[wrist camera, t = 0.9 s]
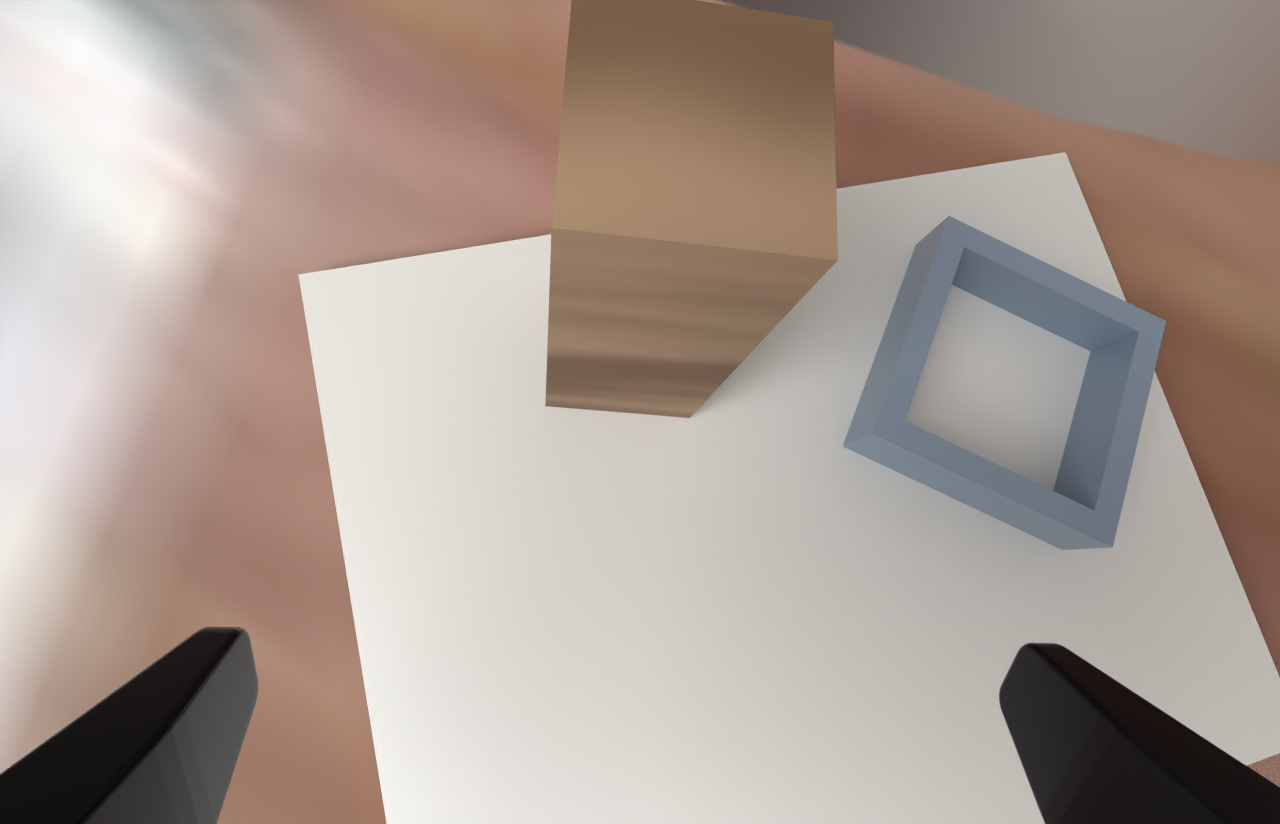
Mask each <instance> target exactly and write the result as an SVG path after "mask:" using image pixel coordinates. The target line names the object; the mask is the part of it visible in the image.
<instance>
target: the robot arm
mask: <svg viewBox="0 0 1280 824" xmlns="http://www.w3.org/2000/svg"><path fill="white" fill-rule="evenodd" d="M257 695H258V677H257V672H256V667H255V662H254V657H253V652H252V647H251V641H250V637H249V635H248V633H247V631H246V630H245V629H243V628H240V627H206V628H203V629H200V630H198V631H197V632H195V633H194V634H192V635H191V636H190V637H188V638H187V639H185V640H184V641H183V642H181V643H180V644H179V645H177V646H176V647H174V648H173V649H172V650H170V651H169V652H168V653H166V654H165V655H163V656H162V657H161V658H159V659H158V660H156V661H155V662H154V663H152V664H151V665H150V666H148V667H147V668H145V669H144V670H143V671H141V672H140V673H139V674H137V675H136V676H134V677H133V678H132V679H130V680H129V681H128V682H126V683H125V684H123V685H122V686H121V687H119V688H118V689H117V690H115V691H114V692H112V693H111V694H110V695H108V696H107V697H105V698H104V699H103V700H101V701H100V702H99V703H97V704H96V705H94V706H93V707H92V708H90V709H89V710H88V711H86V712H85V713H83V714H82V715H81V716H79V717H78V718H77V719H75V720H74V721H72V722H71V723H70V724H68V725H67V726H65V727H64V728H63V729H61V730H60V731H59V732H57V733H56V734H54V735H53V736H52V737H50V738H49V739H48V740H46V741H45V742H43V743H42V744H41V745H39V746H38V747H37V748H35V749H34V750H32V751H31V752H30V753H28V754H27V755H26V756H24V757H23V758H21V759H20V760H19V761H17V762H16V763H14V764H13V765H12V766H10V767H9V768H8V769H6V770H5V771H3V772H2V773H1V774H0V824H217V821H218V818H219V815H220V812H221V809H222V806H223V803H224V800H225V797H226V793H227V790H228V787H229V784H230V781H231V778H232V775H233V772H234V769H235V766H236V763H237V760H238V757H239V753H240V750H241V747H242V744H243V741H244V738H245V735H246V732H247V729H248V726H249V723H250V720H251V717H252V714H253V710H254V707H255V704H256V700H257ZM999 702H1000V708H1001V711H1002V714H1003V716H1004V719H1005V721H1006V724H1007V727H1008V729H1009V732H1010V735H1011V737H1012V740H1013V742H1014V745H1015V748H1016V750H1017V753H1018V755H1019V758H1020V761H1021V763H1022V766H1023V769H1024V771H1025V774H1026V776H1027V779H1028V782H1029V784H1030V787H1031V789H1032V792H1033V795H1034V797H1035V800H1036V803H1037V805H1038V808H1039V810H1040V813H1041V816H1042V818H1043V820H1044V823H1045V824H1280V787H1278V786H1277V785H1275V784H1274V783H1272V782H1271V781H1269V780H1267V779H1266V778H1264V777H1263V776H1261V775H1260V774H1258V773H1257V772H1255V771H1254V770H1252V769H1251V768H1249V767H1248V766H1246V765H1245V764H1243V763H1241V762H1240V761H1238V760H1237V759H1235V758H1234V757H1232V756H1231V755H1229V754H1228V753H1226V752H1225V751H1223V750H1222V749H1220V748H1219V747H1217V746H1215V745H1214V744H1212V743H1211V742H1209V741H1208V740H1206V739H1205V738H1203V737H1202V736H1200V735H1199V734H1197V733H1196V732H1194V731H1193V730H1191V729H1189V728H1188V727H1186V726H1185V725H1183V724H1182V723H1180V722H1179V721H1177V720H1176V719H1174V718H1173V717H1171V716H1170V715H1168V714H1167V713H1165V712H1164V711H1162V710H1160V709H1159V708H1157V707H1156V706H1154V705H1153V704H1151V703H1150V702H1148V701H1147V700H1145V699H1144V698H1142V697H1141V696H1139V695H1138V694H1136V693H1134V692H1133V691H1131V690H1130V689H1128V688H1127V687H1125V686H1124V685H1122V684H1121V683H1119V682H1118V681H1116V680H1115V679H1113V678H1112V677H1110V676H1108V675H1107V674H1105V673H1104V672H1102V671H1101V670H1099V669H1098V668H1096V667H1095V666H1093V665H1092V664H1090V663H1089V662H1087V661H1086V660H1084V659H1083V658H1081V657H1079V656H1078V655H1076V654H1075V653H1073V652H1072V651H1070V650H1069V649H1067V648H1066V647H1064V646H1062V645H1059V644H1055V643H1026V644H1025V645H1023V646H1022V647H1021V648H1020V649H1019V650H1018V652H1017V654H1016V656H1015V658H1014V660H1013V662H1012V664H1011V666H1010V668H1009V670H1008V672H1007V674H1006V676H1005V678H1004V680H1003V682H1002V684H1001V687H1000V691H999Z"/></svg>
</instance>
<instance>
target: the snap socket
mask: <svg viewBox="0 0 1280 824" xmlns="http://www.w3.org/2000/svg"><path fill="white" fill-rule="evenodd" d="M951 285H954V286H956V287H958V288H960V289H962V290H964V291H966V292H968V293H970V294H972V295H974V296H977V297H979V298H981V299H983V300H985V301H987V302H989V303H991V304H993V305H995V306H997V307H999V308H1001V309H1004V310H1006V311H1008V312H1010V313H1012V314H1014V315H1016V316H1018V317H1020V318H1022V319H1024V320H1026V321H1028V322H1031V323H1033V324H1035V325H1037V326H1039V327H1041V328H1043V329H1045V330H1047V331H1049V332H1051V333H1053V334H1055V335H1058V336H1060V337H1062V338H1064V339H1066V340H1068V341H1070V342H1072V343H1074V344H1076V345H1078V346H1080V347H1082V348H1085V349H1087V350H1089V351H1091V352H1090V355H1089V359H1088V363H1087V366H1086V370H1085V374H1084V378H1083V381H1082V385H1081V389H1080V393H1079V396H1078V400H1077V404H1076V408H1075V411H1074V415H1073V419H1072V423H1071V426H1070V430H1069V434H1068V438H1067V441H1066V445H1065V449H1064V453H1063V456H1062V460H1061V464H1060V468H1059V471H1058V475H1057V479H1056V483H1055V486H1054V490H1053V491H1052V490H1050V489H1048V488H1046V487H1044V486H1042V485H1040V484H1037V483H1035V482H1033V481H1031V480H1029V479H1027V478H1025V477H1023V476H1021V475H1018V474H1016V473H1014V472H1012V471H1010V470H1008V469H1006V468H1004V467H1002V466H999V465H997V464H995V463H993V462H991V461H989V460H987V459H985V458H983V457H980V456H978V455H976V454H974V453H972V452H970V451H968V450H966V449H964V448H961V447H959V446H957V445H955V444H953V443H951V442H949V441H947V440H945V439H942V438H940V437H938V436H936V435H934V434H932V433H930V432H928V431H926V430H923V429H921V428H919V427H917V426H915V425H913V424H911V423H909V422H907V421H905V420H906V417H907V414H908V411H909V408H910V405H911V403H912V400H913V397H914V394H915V391H916V388H917V385H918V382H919V379H920V376H921V373H922V370H923V367H924V364H925V361H926V358H927V355H928V353H929V350H930V347H931V344H932V341H933V338H934V335H935V332H936V329H937V326H938V323H939V320H940V317H941V314H942V311H943V308H944V305H945V303H946V300H947V297H948V294H949V291H950V288H951ZM1165 324H1166V321H1165V320H1163V319H1161V318H1159V317H1157V316H1155V315H1153V314H1151V313H1148V312H1146V311H1144V310H1142V309H1140V308H1138V307H1136V306H1134V305H1132V304H1130V303H1128V302H1126V301H1124V300H1122V299H1120V298H1118V297H1115V296H1113V295H1111V294H1109V293H1107V292H1105V291H1103V290H1101V289H1099V288H1097V287H1095V286H1093V285H1091V284H1089V283H1087V282H1085V281H1082V280H1080V279H1078V278H1076V277H1074V276H1072V275H1070V274H1068V273H1066V272H1064V271H1062V270H1060V269H1058V268H1056V267H1054V266H1052V265H1049V264H1047V263H1045V262H1043V261H1041V260H1039V259H1037V258H1035V257H1033V256H1031V255H1029V254H1027V253H1025V252H1023V251H1021V250H1019V249H1016V248H1014V247H1012V246H1010V245H1008V244H1006V243H1004V242H1002V241H1000V240H998V239H996V238H994V237H992V236H990V235H988V234H986V233H983V232H981V231H979V230H977V229H975V228H973V227H971V226H969V225H967V224H965V223H963V222H961V221H959V220H957V219H955V218H953V217H950V216H948V217H947V218H946V219H945V220H943V221H942V222H941V223H940V224H939V225H938V226H937V227H935V228H934V229H933V230H932V231H931V232H930V233H929V234H928V235H926V236H925V237H924V238H923V239H922V240H921V241H920V242H918V243H917V244H916V246H915V248H914V251H913V254H912V257H911V259H910V262H909V265H908V268H907V270H906V273H905V276H904V279H903V281H902V284H901V287H900V290H899V292H898V295H897V298H896V301H895V303H894V306H893V309H892V312H891V314H890V317H889V320H888V323H887V325H886V328H885V331H884V334H883V336H882V339H881V342H880V345H879V347H878V350H877V353H876V356H875V358H874V361H873V364H872V367H871V369H870V372H869V375H868V378H867V380H866V383H865V386H864V389H863V391H862V394H861V397H860V400H859V402H858V405H857V408H856V411H855V413H854V416H853V419H852V422H851V424H850V427H849V430H848V433H847V435H846V438H845V441H844V444H843V447H845V448H847V449H849V450H851V451H854V452H856V453H858V454H860V455H862V456H864V457H866V458H868V459H871V460H873V461H875V462H877V463H879V464H881V465H883V466H885V467H888V468H890V469H892V470H894V471H896V472H898V473H900V474H902V475H904V476H907V477H909V478H911V479H913V480H915V481H917V482H919V483H921V484H924V485H926V486H928V487H930V488H932V489H934V490H936V491H938V492H941V493H943V494H945V495H947V496H949V497H951V498H953V499H955V500H958V501H960V502H962V503H964V504H966V505H968V506H970V507H972V508H975V509H977V510H979V511H981V512H983V513H985V514H987V515H989V516H991V517H994V518H996V519H998V520H1000V521H1002V522H1004V523H1006V524H1008V525H1011V526H1013V527H1015V528H1017V529H1019V530H1021V531H1023V532H1025V533H1028V534H1030V535H1032V536H1034V537H1036V538H1038V539H1040V540H1042V541H1045V542H1047V543H1049V544H1051V545H1053V546H1055V547H1057V548H1059V549H1062V550H1073V549H1092V548H1111V547H1113V544H1114V540H1115V536H1116V532H1117V527H1118V523H1119V519H1120V515H1121V510H1122V506H1123V502H1124V498H1125V494H1126V489H1127V485H1128V481H1129V477H1130V472H1131V468H1132V464H1133V460H1134V455H1135V451H1136V447H1137V443H1138V438H1139V434H1140V430H1141V426H1142V422H1143V417H1144V413H1145V409H1146V405H1147V400H1148V396H1149V392H1150V388H1151V383H1152V379H1153V375H1154V371H1155V367H1156V362H1157V358H1158V354H1159V350H1160V345H1161V341H1162V337H1163V333H1164V328H1165Z"/></svg>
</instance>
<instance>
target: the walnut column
mask: <svg viewBox="0 0 1280 824" xmlns="http://www.w3.org/2000/svg"><path fill="white" fill-rule="evenodd" d="M837 261H838V247H837V195H836V144H835V92H834V40H833V22H828V21H822V20H816V19H809V18H803V17H797V16H790V15H784V14H778V13H771V12H765V11H759V10H753V9H747V8H740V7H734V6H728V5H721V4H715V3H709V2H702V1H696V0H572V3H571V14H570V26H569V37H568V48H567V59H566V70H565V82H564V93H563V104H562V115H561V127H560V138H559V149H558V160H557V171H556V183H555V194H554V205H553V216H552V228H551V257H550V286H549V315H548V344H547V373H546V402H545V406H550V407H562V408H574V409H586V410H598V411H610V412H622V413H635V414H647V415H659V416H671V417H683V418H690V417H691V416H692V415H693V414H694V413H695V412H696V410H697V409H698V408H699V407H700V406H701V405H702V404H703V403H704V402H705V401H706V400H707V399H708V398H709V397H710V396H711V395H712V393H713V392H714V391H715V390H716V389H717V388H718V387H719V386H720V385H721V384H722V383H723V382H724V381H725V380H726V379H727V378H728V376H729V375H730V374H731V373H732V372H733V371H734V370H735V369H736V368H737V367H738V366H739V365H740V364H741V363H742V362H743V361H744V359H745V358H746V357H747V356H748V355H749V354H750V353H751V352H752V351H753V350H754V349H755V348H756V347H757V346H758V345H759V344H760V342H761V341H762V340H763V339H764V338H765V337H766V336H767V335H768V334H769V333H770V332H771V331H772V330H773V329H774V328H775V327H776V325H777V324H778V323H779V322H780V321H781V320H782V319H783V318H784V317H785V316H786V315H787V314H788V313H789V312H790V311H791V310H792V308H793V307H794V306H795V305H796V304H797V303H798V302H799V301H800V300H801V299H802V298H803V297H804V296H805V295H806V294H807V292H808V291H809V290H810V289H811V288H812V287H813V286H814V285H815V284H816V283H817V282H818V281H819V280H820V279H821V278H822V277H823V275H824V274H825V273H826V272H827V271H828V270H829V269H830V268H831V267H832V266H833V265H834V264H835V263H836V262H837Z"/></svg>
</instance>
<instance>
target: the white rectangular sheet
mask: <svg viewBox="0 0 1280 824" xmlns="http://www.w3.org/2000/svg"><path fill="white" fill-rule="evenodd" d="M836 195H837V247H838V261H837V262H836V263H835V264H834V265H833V266H832V267H831V268H830V269H829V270H828V271H827V272H826V273H825V274H824V275H823V277H822V278H821V279H820V280H819V281H818V282H817V283H816V284H815V285H814V286H813V287H812V288H811V289H810V290H809V291H808V292H807V294H806V295H805V296H804V297H803V298H802V299H801V300H800V301H799V302H798V303H797V304H796V305H795V306H794V307H793V308H792V310H791V311H790V312H789V313H788V314H787V315H786V316H785V317H784V318H783V319H782V320H781V321H780V322H779V323H778V324H777V325H776V327H775V328H774V329H773V330H772V331H771V332H770V333H769V334H768V335H767V336H766V337H765V338H764V339H763V340H762V341H761V342H760V344H759V345H758V346H757V347H756V348H755V349H754V350H753V351H752V352H751V353H750V354H749V355H748V356H747V357H746V358H745V359H744V361H743V362H742V363H741V364H740V365H739V366H738V367H737V368H736V369H735V370H734V371H733V372H732V373H731V374H730V375H729V376H728V378H727V379H726V380H725V381H724V382H723V383H722V384H721V385H720V386H719V387H718V388H717V389H716V390H715V391H714V392H713V393H712V395H711V396H710V397H709V398H708V399H707V400H706V401H705V402H704V403H703V404H702V405H701V406H700V407H699V408H698V409H697V410H696V412H695V413H694V414H693V415H692V416H691V417H690V418H683V417H671V416H659V415H647V414H635V413H622V412H610V411H598V410H586V409H574V408H562V407H550V406H545V402H546V373H547V344H548V315H549V286H550V257H551V234H550V235H544V236H538V237H532V238H525V239H519V240H513V241H507V242H500V243H494V244H488V245H482V246H475V247H469V248H463V249H456V250H450V251H444V252H438V253H431V254H425V255H419V256H413V257H406V258H400V259H394V260H388V261H381V262H375V263H369V264H362V265H356V266H350V267H344V268H337V269H331V270H325V271H319V272H312V273H306V274H300V275H299V280H300V286H301V292H302V298H303V305H304V311H305V317H306V323H307V330H308V336H309V342H310V348H311V354H312V361H313V367H314V373H315V379H316V386H317V392H318V398H319V404H320V411H321V417H322V423H323V429H324V435H325V442H326V448H327V454H328V460H329V467H330V473H331V479H332V485H333V492H334V498H335V504H336V510H337V517H338V523H339V529H340V535H341V541H342V548H343V554H344V560H345V566H346V573H347V579H348V585H349V591H350V598H351V604H352V610H353V616H354V622H355V629H356V635H357V641H358V647H359V654H360V660H361V666H362V672H363V679H364V685H365V691H366V697H367V703H368V710H369V716H370V722H371V728H372V735H373V741H374V747H375V753H376V760H377V766H378V772H379V778H380V785H381V791H382V797H383V803H384V809H385V816H386V822H387V824H1045V823H1044V820H1043V818H1042V816H1041V813H1040V810H1039V808H1038V805H1037V803H1036V800H1035V797H1034V795H1033V792H1032V789H1031V787H1030V784H1029V782H1028V779H1027V776H1026V774H1025V771H1024V769H1023V766H1022V763H1021V761H1020V758H1019V755H1018V753H1017V750H1016V748H1015V745H1014V742H1013V740H1012V737H1011V735H1010V732H1009V729H1008V727H1007V724H1006V721H1005V719H1004V716H1003V714H1002V711H1001V708H1000V702H999V691H1000V687H1001V684H1002V682H1003V680H1004V678H1005V676H1006V674H1007V672H1008V670H1009V668H1010V666H1011V664H1012V662H1013V660H1014V658H1015V656H1016V654H1017V652H1018V650H1019V649H1020V648H1021V647H1022V646H1023V645H1025V644H1026V643H1055V644H1059V645H1062V646H1064V647H1066V648H1067V649H1069V650H1070V651H1072V652H1073V653H1075V654H1076V655H1078V656H1079V657H1081V658H1083V659H1084V660H1086V661H1087V662H1089V663H1090V664H1092V665H1093V666H1095V667H1096V668H1098V669H1099V670H1101V671H1102V672H1104V673H1105V674H1107V675H1108V676H1110V677H1112V678H1113V679H1115V680H1116V681H1118V682H1119V683H1121V684H1122V685H1124V686H1125V687H1127V688H1128V689H1130V690H1131V691H1133V692H1134V693H1136V694H1138V695H1139V696H1141V697H1142V698H1144V699H1145V700H1147V701H1148V702H1150V703H1151V704H1153V705H1154V706H1156V707H1157V708H1159V709H1160V710H1162V711H1164V712H1165V713H1167V714H1168V715H1170V716H1171V717H1173V718H1174V719H1176V720H1177V721H1179V722H1180V723H1182V724H1183V725H1185V726H1186V727H1188V728H1189V729H1191V730H1193V731H1194V732H1196V733H1197V734H1199V735H1200V736H1202V737H1203V738H1205V739H1206V740H1208V741H1209V742H1211V743H1212V744H1214V745H1215V746H1217V747H1219V748H1220V749H1222V750H1223V751H1225V752H1226V753H1228V754H1229V755H1231V756H1232V757H1234V758H1235V759H1237V760H1238V761H1240V762H1241V763H1243V764H1245V765H1246V766H1247V765H1250V764H1252V763H1255V762H1257V761H1260V760H1263V759H1265V758H1268V757H1271V756H1273V755H1276V754H1279V753H1280V677H1279V674H1278V672H1277V670H1276V667H1275V665H1274V662H1273V660H1272V657H1271V655H1270V652H1269V650H1268V647H1267V645H1266V643H1265V640H1264V638H1263V635H1262V633H1261V630H1260V628H1259V625H1258V623H1257V621H1256V618H1255V616H1254V613H1253V611H1252V608H1251V606H1250V603H1249V601H1248V598H1247V596H1246V594H1245V591H1244V589H1243V586H1242V584H1241V581H1240V579H1239V576H1238V574H1237V572H1236V569H1235V567H1234V564H1233V562H1232V559H1231V557H1230V554H1229V552H1228V549H1227V547H1226V545H1225V542H1224V540H1223V537H1222V535H1221V532H1220V530H1219V527H1218V525H1217V522H1216V520H1215V518H1214V515H1213V513H1212V510H1211V508H1210V505H1209V503H1208V500H1207V498H1206V496H1205V493H1204V491H1203V488H1202V486H1201V483H1200V481H1199V478H1198V476H1197V473H1196V471H1195V469H1194V466H1193V464H1192V461H1191V459H1190V456H1189V454H1188V451H1187V449H1186V447H1185V444H1184V442H1183V439H1182V437H1181V434H1180V432H1179V429H1178V427H1177V424H1176V422H1175V420H1174V417H1173V415H1172V412H1171V410H1170V407H1169V405H1168V402H1167V400H1166V397H1165V395H1164V393H1163V390H1162V388H1161V385H1160V383H1159V380H1158V378H1157V375H1156V373H1155V371H1154V375H1153V379H1152V383H1151V388H1150V392H1149V396H1148V400H1147V405H1146V409H1145V413H1144V417H1143V422H1142V426H1141V430H1140V434H1139V438H1138V443H1137V447H1136V451H1135V455H1134V460H1133V464H1132V468H1131V472H1130V477H1129V481H1128V485H1127V489H1126V494H1125V498H1124V502H1123V506H1122V510H1121V515H1120V519H1119V523H1118V527H1117V532H1116V536H1115V540H1114V544H1113V547H1111V548H1092V549H1073V550H1062V549H1059V548H1057V547H1055V546H1053V545H1051V544H1049V543H1047V542H1045V541H1042V540H1040V539H1038V538H1036V537H1034V536H1032V535H1030V534H1028V533H1025V532H1023V531H1021V530H1019V529H1017V528H1015V527H1013V526H1011V525H1008V524H1006V523H1004V522H1002V521H1000V520H998V519H996V518H994V517H991V516H989V515H987V514H985V513H983V512H981V511H979V510H977V509H975V508H972V507H970V506H968V505H966V504H964V503H962V502H960V501H958V500H955V499H953V498H951V497H949V496H947V495H945V494H943V493H941V492H938V491H936V490H934V489H932V488H930V487H928V486H926V485H924V484H921V483H919V482H917V481H915V480H913V479H911V478H909V477H907V476H904V475H902V474H900V473H898V472H896V471H894V470H892V469H890V468H888V467H885V466H883V465H881V464H879V463H877V462H875V461H873V460H871V459H868V458H866V457H864V456H862V455H860V454H858V453H856V452H854V451H851V450H849V449H847V448H845V447H843V444H844V441H845V438H846V435H847V433H848V430H849V427H850V424H851V422H852V419H853V416H854V413H855V411H856V408H857V405H858V402H859V400H860V397H861V394H862V391H863V389H864V386H865V383H866V380H867V378H868V375H869V372H870V369H871V367H872V364H873V361H874V358H875V356H876V353H877V350H878V347H879V345H880V342H881V339H882V336H883V334H884V331H885V328H886V325H887V323H888V320H889V317H890V314H891V312H892V309H893V306H894V303H895V301H896V298H897V295H898V292H899V290H900V287H901V284H902V281H903V279H904V276H905V273H906V270H907V268H908V265H909V262H910V259H911V257H912V254H913V251H914V248H915V246H916V244H917V243H918V242H920V241H921V240H922V239H923V238H924V237H925V236H926V235H928V234H929V233H930V232H931V231H932V230H933V229H934V228H935V227H937V226H938V225H939V224H940V223H941V222H942V221H943V220H945V219H946V218H947V217H948V216H950V217H953V218H955V219H957V220H959V221H961V222H963V223H965V224H967V225H969V226H971V227H973V228H975V229H977V230H979V231H981V232H983V233H986V234H988V235H990V236H992V237H994V238H996V239H998V240H1000V241H1002V242H1004V243H1006V244H1008V245H1010V246H1012V247H1014V248H1016V249H1019V250H1021V251H1023V252H1025V253H1027V254H1029V255H1031V256H1033V257H1035V258H1037V259H1039V260H1041V261H1043V262H1045V263H1047V264H1049V265H1052V266H1054V267H1056V268H1058V269H1060V270H1062V271H1064V272H1066V273H1068V274H1070V275H1072V276H1074V277H1076V278H1078V279H1080V280H1082V281H1085V282H1087V283H1089V284H1091V285H1093V286H1095V287H1097V288H1099V289H1101V290H1103V291H1105V292H1107V293H1109V294H1111V295H1113V296H1115V297H1118V298H1120V299H1122V300H1124V301H1126V299H1125V297H1124V295H1123V292H1122V290H1121V287H1120V285H1119V282H1118V280H1117V277H1116V275H1115V273H1114V270H1113V268H1112V265H1111V263H1110V260H1109V258H1108V255H1107V253H1106V250H1105V248H1104V246H1103V243H1102V241H1101V238H1100V236H1099V233H1098V231H1097V228H1096V226H1095V223H1094V221H1093V219H1092V216H1091V214H1090V211H1089V209H1088V206H1087V204H1086V201H1085V199H1084V197H1083V194H1082V192H1081V189H1080V187H1079V184H1078V182H1077V179H1076V177H1075V174H1074V172H1073V170H1072V167H1071V165H1070V162H1069V160H1068V157H1067V155H1066V152H1064V153H1058V154H1052V155H1045V156H1039V157H1033V158H1027V159H1020V160H1014V161H1008V162H1002V163H995V164H989V165H983V166H976V167H970V168H964V169H958V170H951V171H945V172H939V173H933V174H926V175H920V176H914V177H908V178H901V179H895V180H889V181H882V182H876V183H870V184H864V185H857V186H851V187H845V188H839V189H836ZM1090 352H1091V351H1089V350H1087V349H1085V348H1082V347H1080V346H1078V345H1076V344H1074V343H1072V342H1070V341H1068V340H1066V339H1064V338H1062V337H1060V336H1058V335H1055V334H1053V333H1051V332H1049V331H1047V330H1045V329H1043V328H1041V327H1039V326H1037V325H1035V324H1033V323H1031V322H1028V321H1026V320H1024V319H1022V318H1020V317H1018V316H1016V315H1014V314H1012V313H1010V312H1008V311H1006V310H1004V309H1001V308H999V307H997V306H995V305H993V304H991V303H989V302H987V301H985V300H983V299H981V298H979V297H977V296H974V295H972V294H970V293H968V292H966V291H964V290H962V289H960V288H958V287H956V286H954V285H951V288H950V291H949V294H948V297H947V300H946V303H945V305H944V308H943V311H942V314H941V317H940V320H939V323H938V326H937V329H936V332H935V335H934V338H933V341H932V344H931V347H930V350H929V353H928V355H927V358H926V361H925V364H924V367H923V370H922V373H921V376H920V379H919V382H918V385H917V388H916V391H915V394H914V397H913V400H912V403H911V405H910V408H909V411H908V414H907V417H906V420H905V421H907V422H909V423H911V424H913V425H915V426H917V427H919V428H921V429H923V430H926V431H928V432H930V433H932V434H934V435H936V436H938V437H940V438H942V439H945V440H947V441H949V442H951V443H953V444H955V445H957V446H959V447H961V448H964V449H966V450H968V451H970V452H972V453H974V454H976V455H978V456H980V457H983V458H985V459H987V460H989V461H991V462H993V463H995V464H997V465H999V466H1002V467H1004V468H1006V469H1008V470H1010V471H1012V472H1014V473H1016V474H1018V475H1021V476H1023V477H1025V478H1027V479H1029V480H1031V481H1033V482H1035V483H1037V484H1040V485H1042V486H1044V487H1046V488H1048V489H1050V490H1052V491H1053V490H1054V486H1055V483H1056V479H1057V475H1058V471H1059V468H1060V464H1061V460H1062V456H1063V453H1064V449H1065V445H1066V441H1067V438H1068V434H1069V430H1070V426H1071V423H1072V419H1073V415H1074V411H1075V408H1076V404H1077V400H1078V396H1079V393H1080V389H1081V385H1082V381H1083V378H1084V374H1085V370H1086V366H1087V363H1088V359H1089V355H1090Z"/></svg>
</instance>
